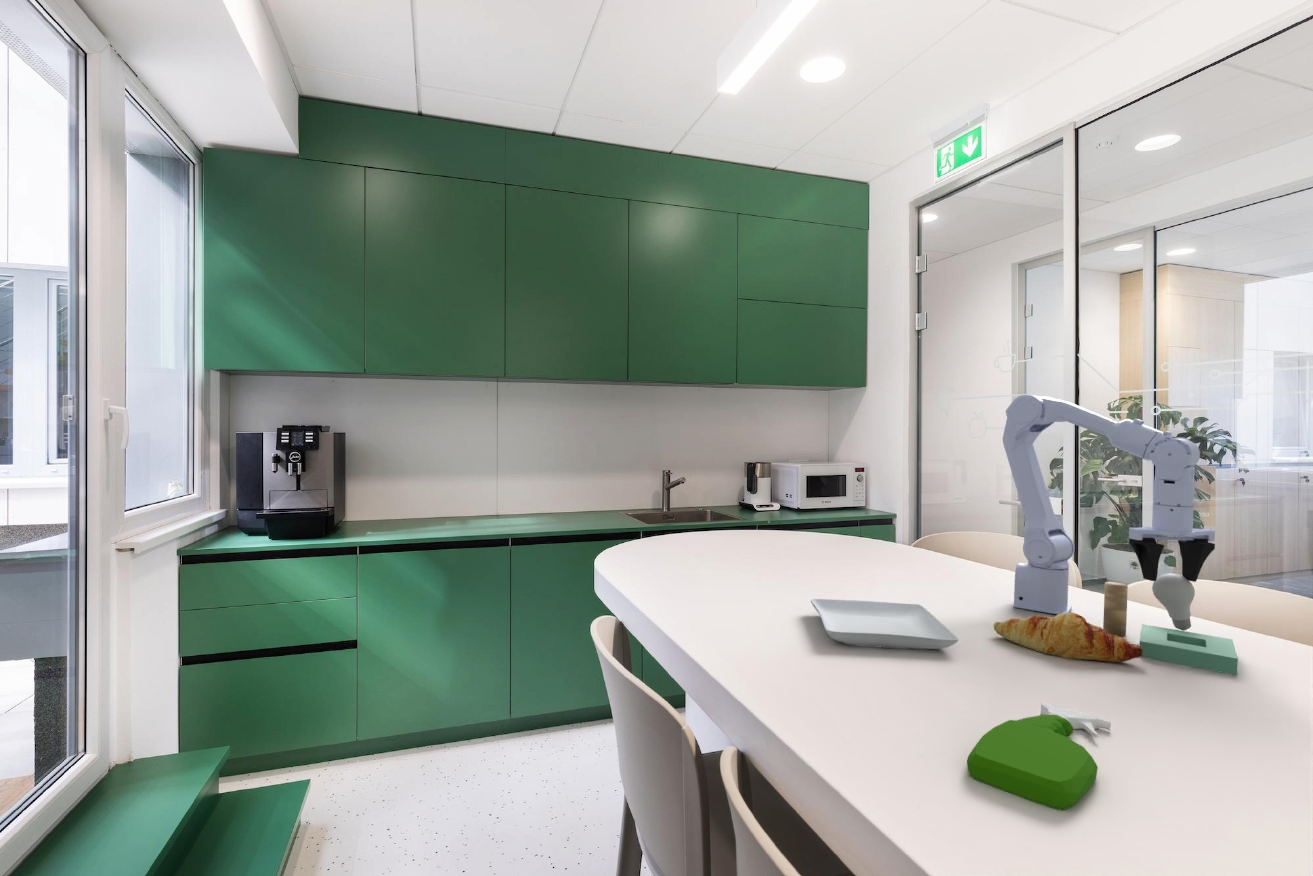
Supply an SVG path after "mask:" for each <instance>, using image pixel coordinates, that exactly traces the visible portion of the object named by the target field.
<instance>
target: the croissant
mask: <svg viewBox="0 0 1313 876" xmlns="http://www.w3.org/2000/svg"><path fill="white" fill-rule="evenodd" d="M993 631H994V632H996V635H999V636H1001V637H1002V638H1003V639H1005V640H1008V641H1010V642H1013V643H1014V644H1017V645H1020V646H1023V647H1024V648H1025V647H1026V648H1028V649H1030V648H1031V649H1030V650H1034V651H1037V652H1039V653H1042V652H1044V653H1043V654H1045V655H1050V654H1052V655H1051V656H1056V655H1057V656H1056V657H1060V656H1062V657H1061V658H1064V657H1065V659H1071V658H1072V660H1085V661H1086V660H1087V661H1088V660H1089V661H1090V660H1092V661H1096V660H1097V661H1098V662H1105V663H1106V662H1108V663H1109V662H1112V663H1113V662H1114V663H1116V662H1117V663H1118V662H1121V663H1123V662H1127V661H1130V660H1133V659H1137V658H1141V655H1142V652H1143V649H1142V647H1141V646H1139V644H1136V643H1129V642H1128V641H1127V640H1126V638H1125V639H1124V638H1122V636H1116V635H1110V634H1108V633H1106V632H1105V631H1104V629H1103V627H1100V626H1097V625H1095V624H1094V625H1093V624H1092V623H1090V622H1087V620H1086V618H1085V617H1084V616H1082V615H1081V614H1078V613H1076V612H1074V611H1070V612H1069V613H1066V614H1063V613H1061V614H1058V615H1057V614H1055V616H1053V617H1052V616H1045V615H1043V616H1042V615H1031V616H1028V617H1027V618H1026V617H1024V618H1010V619H1006V620H1005V621H1002V622H1001V621H996V622H994V625H993Z"/></svg>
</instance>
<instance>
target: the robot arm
mask: <svg viewBox="0 0 1313 876" xmlns="http://www.w3.org/2000/svg"><path fill="white" fill-rule="evenodd" d="M1005 413H1006V421H1005V426H1004V430H1003V435H1002V443H1003V444H1002V445H1003V447H1004V451H1005V454H1006V457H1007V460H1008V464H1009V467H1010V470H1011V475H1012V478H1013V482H1014V484H1015V488H1016V491H1017V494H1018V498H1019V501H1020V505H1021V509H1022V512H1023V515H1024V519H1025V524H1024V526H1023V529H1022V535H1023V545H1022V552H1023V555H1024V557H1025V559H1026V560H1027V562H1017V564H1016V566H1015V571H1014V588H1013V589H1014V592H1013V596H1014V597H1013V605H1012V606H1013V608H1018V609H1023V610H1029V611H1035V612H1040V613H1041V612H1042V613H1046V614H1053V615H1058V614H1061V613H1063V614H1066V613H1070V612H1071V610H1072V605H1069V604H1068V598H1069V574H1070V572H1069V570H1070V566H1069V562H1068V560H1070V559H1071V558H1072V557H1073V555H1074V553H1075V544H1074V541H1073V539H1072V538H1071V537H1070V536H1069V535H1068V534H1067V533H1066V531H1065V529H1064V525H1063V524H1062V523H1061V522H1060V520H1059V519H1058V518H1057V517H1056V515H1055V512H1054V509H1053V505H1052V502H1051V499H1050V497H1049V493H1048V490H1047V486H1046V483H1045V480H1044V479H1045V478H1044V476H1043V474H1042V469H1041V466H1040V463H1039V460H1038V457H1037V452H1036V450H1035V447H1034V442H1035V441H1036V439H1038V437H1039V436H1040V435H1041V433H1042V432H1043V431H1044V430H1047V428H1049V427H1051V426H1052V425H1053V424H1054V423H1064V422H1067V423H1069V424H1072V425H1075V426H1078V427H1080V428H1083V429H1086V430H1089V431H1091V432H1094V433H1097V434H1100V435H1102V436H1105V437H1107V438H1108V440H1109V443H1110V445H1111V447H1114V448H1115V449H1116V448H1117V449H1119V450H1121V451H1123V452H1126V453H1129V454H1130V455H1132V456H1136V457H1138V458H1141V459H1142V460H1146V461H1149V462H1150V461H1151V462H1152V464H1153V465H1154V466H1155V471H1154V473H1155V474H1154V479H1153V480H1154V481H1153V501H1152V502H1153V503H1152V517H1151V518H1152V521H1151V523H1152V524H1151V525H1152V526H1145V527H1144V526H1143V527H1129V529H1128V539H1129V541H1128V543H1129V545H1130V546H1131V548H1132V549H1133V552H1134V554H1135V555H1136V557H1137V560H1138V562H1139V566H1140V570H1141V573H1142V577H1143V578H1142V579H1144V580H1148V581H1151V582H1154V581H1156V579H1157V577H1158V573H1159V563H1160V558H1161V555H1162V553H1163V550H1164V548H1165V545H1164V544H1161V543H1157V541H1158V540H1159V541H1177V543H1178V546H1179V550H1180V554H1181V555H1180V556H1181V575H1182V576H1183V577H1185V578H1186V579H1187V580H1189V581H1190V582H1193V583H1195V582H1197V580H1198V577H1199V575H1200V572H1201V570H1202V568H1203V565H1204V563H1205V561H1207V559H1208V557H1209V556H1210V555H1211V553H1212V552H1213V551H1215V550H1216V549H1215V548H1216V546H1215V545H1216V544H1215V543H1213V542H1215V539H1216V538H1215V537H1216V531H1215V530H1212V529H1208V528H1193V527H1194V507H1195V486H1196V481H1195V468H1196V467H1195V465H1197V463H1198V462H1199V461H1200V458H1201V452H1200V448H1199V447H1198V445H1197V444H1196V443H1194V442H1193V441H1191V440H1189V439H1188V438H1186V437H1181V436H1179V437H1172V436H1173V432H1172V431H1169V430H1164V431H1161V430H1159V429H1157V428H1154V427H1151V426H1149V425H1145V421H1144V420H1142V419H1139V418H1134V419H1133V420H1132V419H1130V418H1126V419H1122V420H1120V421H1115V420H1113V419H1111V418H1108V417H1106V416H1103V415H1101V414H1099V413H1098V412H1097V413H1096V412H1094V411H1092V410H1089V409H1087V408H1085V407H1084V406H1083V407H1082V406H1080V405H1077V404H1075V403H1073V402H1071V401H1067V400H1062V399H1059V398H1058V399H1056V398H1054V397H1052V396H1048V395H1046V396H1045V395H1043V396H1040V395H1039V396H1037V395H1033V394H1028V393H1027V394H1022V395H1019V396H1017V397H1016V398H1014V399H1013V401H1012V402H1011V403H1010V405H1008V406H1007V408H1006V409H1005Z"/></svg>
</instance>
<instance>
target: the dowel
mask: <svg viewBox="0 0 1313 876" xmlns="http://www.w3.org/2000/svg"><path fill="white" fill-rule="evenodd" d="M1128 588H1129V585H1127V584H1125V583H1121V582H1116V581H1114V582H1113V581H1106V582H1104V595H1103V596H1104V597H1103V600H1104V601H1103V624H1102V625H1103V626H1102V629H1104V631H1105V632H1106V633H1108V634H1110V635H1111V636H1113V635H1116V636H1118V637H1126V636H1127V617H1128V613H1127V612H1128V591H1129V590H1128Z"/></svg>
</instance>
